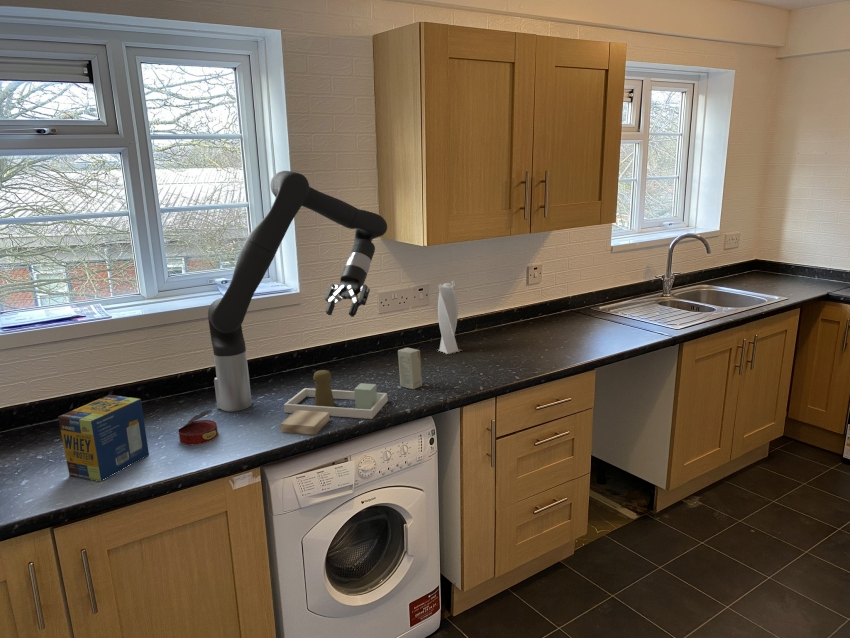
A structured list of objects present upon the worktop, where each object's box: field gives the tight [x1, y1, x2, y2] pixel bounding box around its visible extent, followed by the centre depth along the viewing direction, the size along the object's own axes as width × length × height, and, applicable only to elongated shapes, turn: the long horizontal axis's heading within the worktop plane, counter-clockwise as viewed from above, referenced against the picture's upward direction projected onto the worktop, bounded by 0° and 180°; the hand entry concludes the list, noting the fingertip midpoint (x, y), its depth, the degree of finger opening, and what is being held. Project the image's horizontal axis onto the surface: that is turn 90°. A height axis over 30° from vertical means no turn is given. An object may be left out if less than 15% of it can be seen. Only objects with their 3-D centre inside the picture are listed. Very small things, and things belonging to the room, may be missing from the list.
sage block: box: [353, 382, 378, 410], centre depth 183 cm, size 5×5×7 cm
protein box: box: [57, 394, 150, 482], centre depth 152 cm, size 10×15×16 cm
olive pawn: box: [313, 369, 336, 407], centre depth 186 cm, size 6×6×11 cm
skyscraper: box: [437, 279, 463, 355], centre depth 234 cm, size 8×8×28 cm
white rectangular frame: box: [283, 387, 388, 420], centre depth 186 cm, size 27×14×2 cm, turn 75°
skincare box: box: [397, 347, 423, 390], centre depth 200 cm, size 6×4×12 cm
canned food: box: [177, 409, 219, 446], centre depth 168 cm, size 11×10×10 cm
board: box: [279, 410, 331, 436], centre depth 173 cm, size 10×10×2 cm
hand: (339, 314), depth 190 cm, fingers open, 8 cm apart
